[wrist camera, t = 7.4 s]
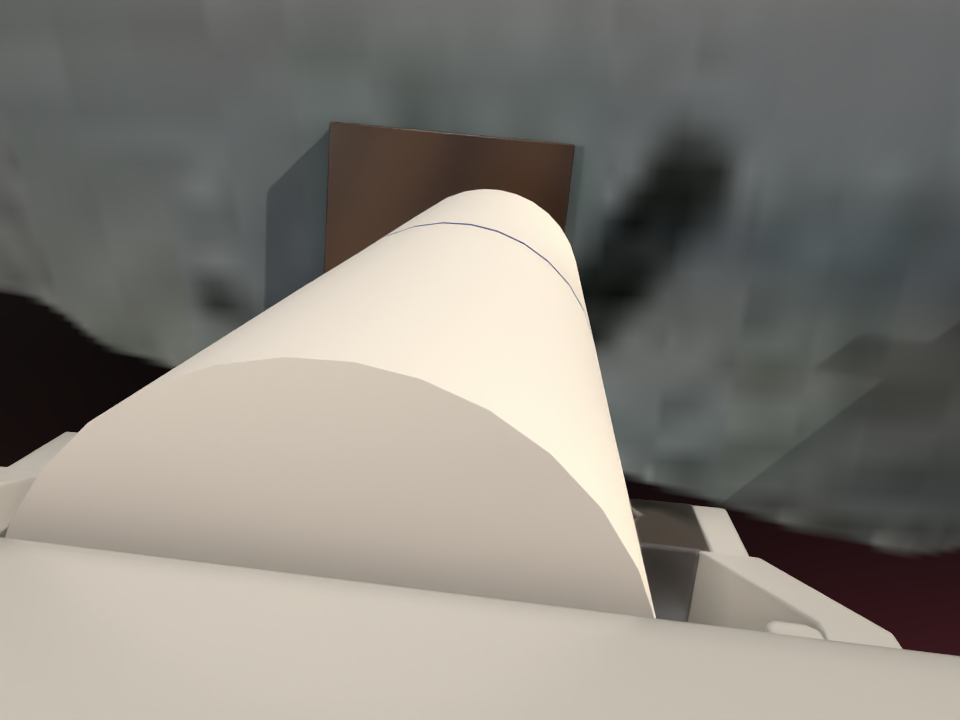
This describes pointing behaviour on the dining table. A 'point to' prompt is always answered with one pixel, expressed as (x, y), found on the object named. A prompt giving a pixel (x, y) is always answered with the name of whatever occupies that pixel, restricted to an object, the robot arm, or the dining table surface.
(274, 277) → the dining table surface
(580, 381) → the cylindrical container
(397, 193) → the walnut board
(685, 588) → the robot arm
